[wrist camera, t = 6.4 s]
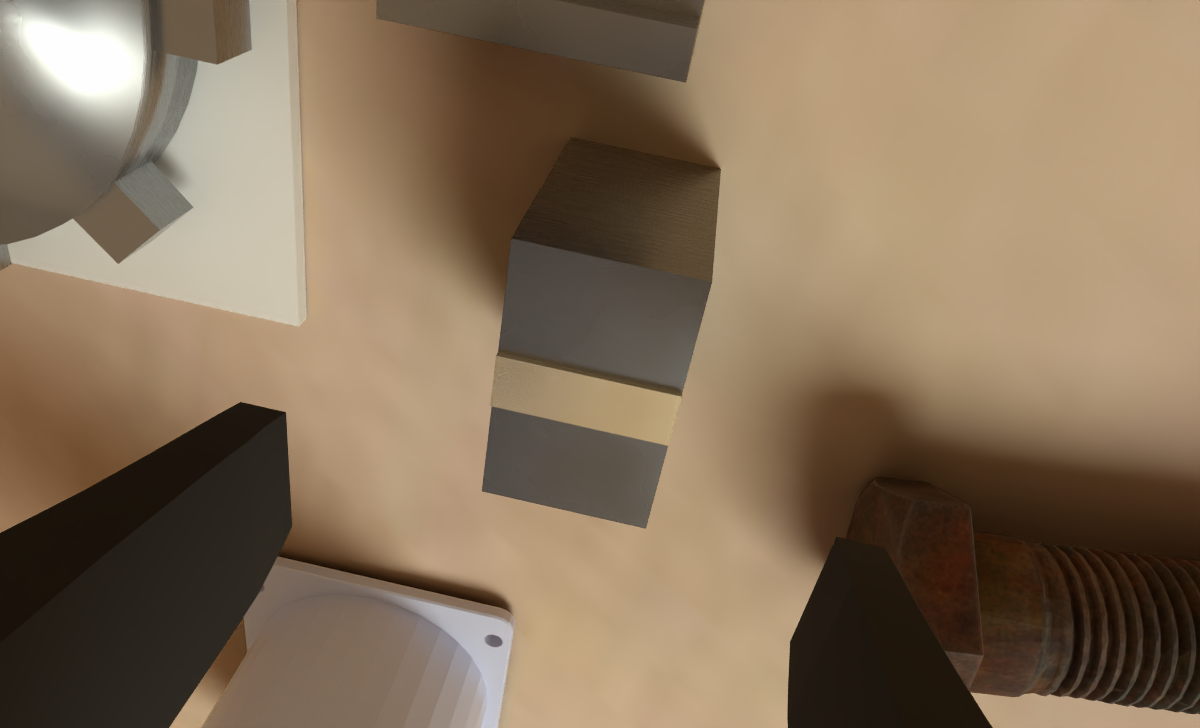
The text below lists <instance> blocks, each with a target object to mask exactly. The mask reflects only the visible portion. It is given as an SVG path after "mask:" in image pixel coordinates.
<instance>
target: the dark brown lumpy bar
mask: <svg viewBox="0 0 1200 728" xmlns="http://www.w3.org/2000/svg"><path fill="white" fill-rule="evenodd" d="M846 539H849V540H853V541H858V542H862V543H867V544H871V545H876V546H880V547H884V548H885V549H886V550H887V552H888V554H889V555H890V557H891V559H892V561H893V562H894V564H895V566H896V567H897V569H898V571H899V573H900V574H901V576H902V578H903V580H904V581H905V583H906V585H907V587H908V588H909V590H910V592H911V594H912V595H913V597H914V599H915V601H916V602H917V604H918V606H919V608H920V609H921V611H922V613H923V615H924V616H925V618H926V620H927V622H928V623H929V625H930V627H931V629H932V630H933V632H934V634H935V635H936V637H937V639H938V641H939V642H940V644H941V646H942V647H943V649H944V651H945V652H946V654H947V656H948V657H949V659H950V661H951V662H952V664H953V666H954V667H955V669H956V671H957V672H958V674H959V675H960V677H961V679H962V680H963V682H964V683H965V685H966V687H967V688H968V690H969V691H970V692H973V693H982V694H991V695H999V696H1008V697H1019V696H1021V695H1023V694H1028V693H1036V694H1039V695H1042V696H1047V695H1049V694H1051V695H1055V696H1059V697H1061V696H1069V697H1073V698H1084V699H1087V700H1092V701H1094V700H1098V701H1102V702H1105V703H1109V704H1113V703H1115V704H1119V705H1123V706H1130V705H1132V706H1135V707H1138V708H1140V707H1148V708H1151V709H1154V710H1157V709H1164V710H1169V711H1173V712H1184V713H1188V714H1200V562H1199V561H1197V560H1187V559H1179V558H1174V557H1171V558H1164V557H1161V556H1157V555H1152V556H1150V555H1146V554H1138V553H1137V554H1134V553H1127V552H1119V553H1116V552H1113V551H1110V550H1104V551H1102V550H1099V549H1091V548H1089V549H1084V548H1080V547H1072V548H1071V547H1069V546H1055V545H1052V544H1044V543H1042V544H1037V543H1034V542H1025V541H1022V540H1021V539H1019V538H1017V537H1014V536H1007V535H999V534H990V533H981V532H973V526H972V515H971V507H970V505H968V504H966V503H964V502H962V501H960V500H959V499H957V498H955V497H953V496H951V495H950V494H948V493H946V492H944V491H942V490H940V489H939V488H937V487H935V486H933V485H931V484H930V483H925V482H915V481H906V480H897V479H887V478H875V479H874V480H873V481H872V482H871V484H870V485H869V486H868V487H867V488H866V489H865V491H864V492H863V493H862V494H861V496H860V498H859V499H858V501H857V503H856V505H855V509H854V513H853V516H852V520H851V523H850V526H849V529H848V532H847V536H846Z"/></svg>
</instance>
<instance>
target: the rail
mask: <svg viewBox="0 0 1200 728" xmlns="http://www.w3.org/2000/svg"><path fill="white" fill-rule="evenodd" d="M704 1H705V0H377V19H382V20H387V21H392V22H397V23H401V24H406V25H411V26H416V27H421V28H426V29H430V30H435V31H440V32H445V33H450V34H455V35H459V36H464V37H469V38H474V39H479V40H484V41H488V42H493V43H498V44H503V45H508V46H512V47H517V48H522V49H527V50H532V51H537V52H541V53H546V54H551V55H556V56H561V57H566V58H570V59H575V60H580V61H585V62H590V63H595V64H599V65H604V66H609V67H614V68H619V69H624V70H628V71H633V72H638V73H643V74H648V75H652V76H657V77H662V78H667V79H672V80H677V81H681V82H686V80H687V76H688V72H689V68H690V64H691V60H692V56H693V51H694V47H695V42H696V38H697V33H698V28H699V24H700V19H701V15H702V10H703V5H704Z"/></svg>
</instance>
